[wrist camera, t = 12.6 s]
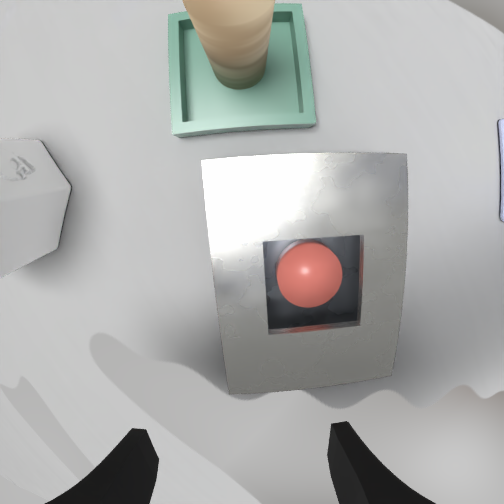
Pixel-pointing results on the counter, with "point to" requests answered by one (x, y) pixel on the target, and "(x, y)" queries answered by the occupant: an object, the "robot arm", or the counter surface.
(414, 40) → the counter surface
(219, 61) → the dowel
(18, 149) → the jar
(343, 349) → the metal stand with hole
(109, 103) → the counter surface
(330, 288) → the button
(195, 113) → the tray
